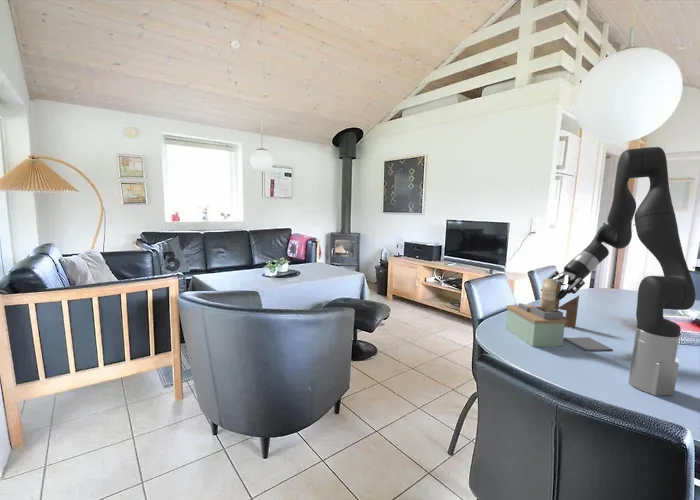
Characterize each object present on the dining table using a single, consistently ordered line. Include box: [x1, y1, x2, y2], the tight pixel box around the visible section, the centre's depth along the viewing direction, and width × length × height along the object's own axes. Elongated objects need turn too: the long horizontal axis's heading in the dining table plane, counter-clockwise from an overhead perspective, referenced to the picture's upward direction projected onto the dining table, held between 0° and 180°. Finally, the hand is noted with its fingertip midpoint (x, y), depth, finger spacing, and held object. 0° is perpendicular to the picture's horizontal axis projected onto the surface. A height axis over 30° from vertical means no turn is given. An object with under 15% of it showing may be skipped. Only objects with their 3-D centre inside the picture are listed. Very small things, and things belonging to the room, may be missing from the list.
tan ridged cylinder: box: [539, 278, 558, 312], centre depth 130 cm, size 5×5×14 cm
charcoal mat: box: [563, 336, 613, 352], centre depth 130 cm, size 11×11×1 cm
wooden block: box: [554, 285, 580, 329], centre depth 151 cm, size 4×11×18 cm, turn 46°
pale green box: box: [505, 303, 567, 348], centre depth 135 cm, size 19×13×13 cm
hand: (549, 294), depth 130 cm, fingers open, 8 cm apart
